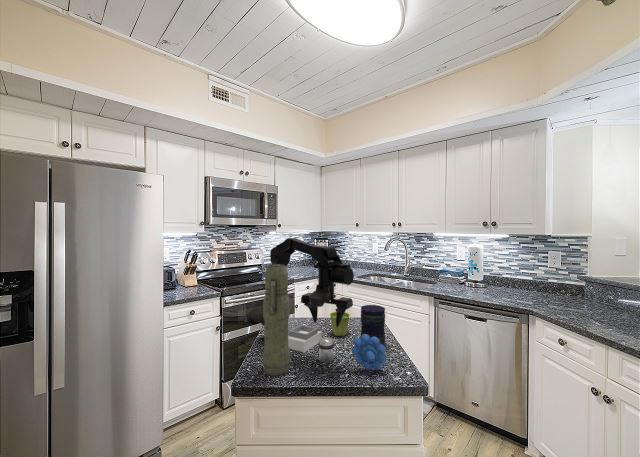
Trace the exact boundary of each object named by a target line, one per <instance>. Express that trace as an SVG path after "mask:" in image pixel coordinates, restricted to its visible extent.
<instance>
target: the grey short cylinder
mask: <svg viewBox="0 0 640 457" xmlns="http://www.w3.org/2000/svg"><path fill="white" fill-rule="evenodd" d="M317 345H318V348H319V349H318V350H319V351H318V352H319V354H318V356H319V357H318V360H319V361H320V362H322V363H331V362H333V361H334V348H335V343H334V339H333V338H332V337H327V336H326V337H325V336H324V337H321V338H320V339H319V343H318V344H317Z"/></svg>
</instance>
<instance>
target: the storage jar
mask: <svg viewBox="0 0 640 457" xmlns="http://www.w3.org/2000/svg"><path fill="white" fill-rule="evenodd" d="M360 321H361V323H360V324H361V329H360V339H361V337H362V335H363V334H367V335H368V336H369V337H370V339H371V337H373V336H374V337H377V338H378V339H379V342H380V343H379V344H382V345H384V346H386V344H385V342H386V331H385V323H386V308H385V307H384V306H381V305H378V304H377V305H376V304H367V305H362V306H361V307H360ZM361 340H362V339H361Z"/></svg>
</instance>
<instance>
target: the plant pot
mask: <svg viewBox="0 0 640 457" xmlns="http://www.w3.org/2000/svg"><path fill="white" fill-rule="evenodd" d="M328 315H329V317H330V321H331V328H332V334H333V335H334V336H337V337H340V336H344V337H345V336H346V335H347V332H348V327H349V326H348V325H349V320H350V317H351V314H350V313H349V312H346V311H345V313H344V315H343V317H342V319H341V322H340V324H339V326H338V327H336V315H337V313H336V311H333V312H331V313H329V314H328Z"/></svg>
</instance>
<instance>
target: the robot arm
mask: <svg viewBox="0 0 640 457" xmlns="http://www.w3.org/2000/svg"><path fill="white" fill-rule="evenodd" d="M296 251H297V252H300V253H304V254H305V255H308V256H310V257H312V259H313V260H314V261H316V264H315V265H314V266H313V269H317V270H318V275H317V276H318V277H317V278H318V284H316V287H315V290H314V291H313V292H307V293H304V294H302V295H301V297H300V303H301V304H303V305H304V306H306V307H307V308H308V310H309V312H310V314H311V317H312V320H313V322H314V323H317V320H318V310H319V308H322V307H324V304H329V305H335V307H336V308H335V309H334V311H335V312H336V313H337V315H336V327H338V326H339V324H340V322H341V319H342V317H343V315H344V313H345V312H346V311H347V310H349V309H350V308H352V307H353V306H354V302H353V298H350V297H344V296H343V297H340V298H336V297H337V294H335V287H336V286H337V284H339V285H340V284H341V285H346V286H350V285H351V284H353V281H354V278H355V274H354V271H353V269H352V268H351V265H350V264H349V263H347V264H343V261H342V259H341V258H340V257H339V255H338V253H337V250H336V248H335V247H334V246H330V245H329V246H328V245H317V244H314V243H310V242H307V241H305V240H301V239H298V238H296V237H288V238H286V239H285V240H283V241H282V242H281V243H279V244H277V245H275V246H274V247H272V248H271V249H270V252H269V253H270V254H269V258H270V263H271V264H283V265H285V266H286V267H288V264H290V261H291V256H292V255H293V254H294V253H295V252H296ZM260 323H261V325H262V326H264V327H265V320H264V318H263V316H262V317H261V319H260ZM261 338H262V339H263V340H265V335H264V336H261Z"/></svg>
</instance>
